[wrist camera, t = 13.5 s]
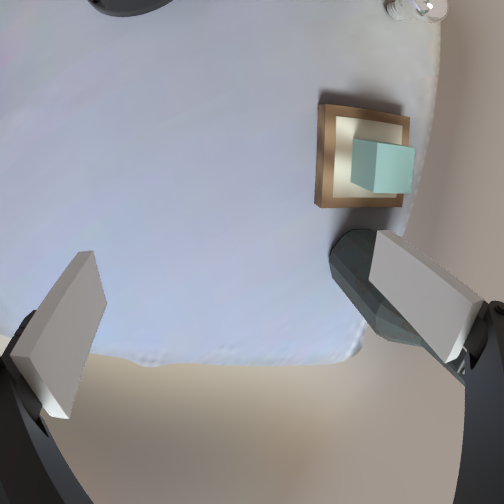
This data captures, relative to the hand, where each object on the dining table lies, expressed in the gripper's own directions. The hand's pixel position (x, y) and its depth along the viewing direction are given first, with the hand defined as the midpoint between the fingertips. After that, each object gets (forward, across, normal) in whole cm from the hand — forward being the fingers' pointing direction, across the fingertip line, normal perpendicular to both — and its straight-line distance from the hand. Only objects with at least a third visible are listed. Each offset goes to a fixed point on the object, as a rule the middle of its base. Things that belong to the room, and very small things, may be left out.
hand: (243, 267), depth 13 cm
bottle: (+27, +22, -14) cm, 37 cm away
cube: (+24, +21, +2) cm, 32 cm away
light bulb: (+27, +27, +27) cm, 47 cm away
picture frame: (+27, +21, +2) cm, 34 cm away
